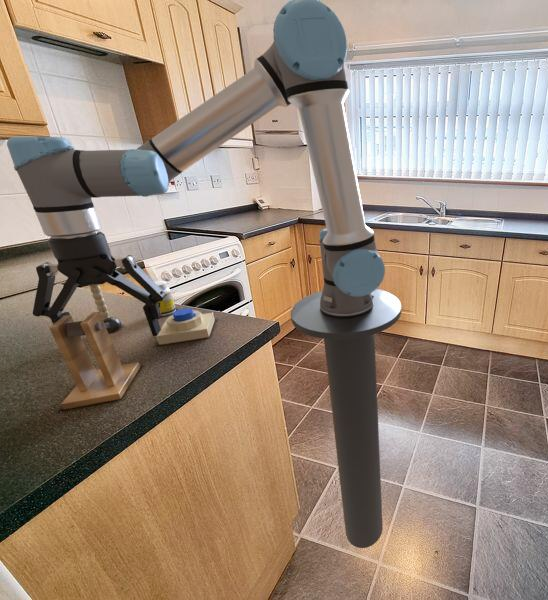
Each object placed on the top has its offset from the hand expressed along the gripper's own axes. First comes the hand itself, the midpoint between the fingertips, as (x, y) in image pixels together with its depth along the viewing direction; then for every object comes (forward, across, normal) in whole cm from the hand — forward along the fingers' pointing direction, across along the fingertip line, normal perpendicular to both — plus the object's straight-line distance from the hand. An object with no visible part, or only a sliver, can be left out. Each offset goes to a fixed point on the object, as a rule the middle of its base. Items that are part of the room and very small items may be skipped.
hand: (117, 338), depth 68 cm
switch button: (+1, -10, -8) cm, 13 cm away
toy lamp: (+5, +8, -16) cm, 19 cm away
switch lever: (-4, 0, +6) cm, 7 cm away
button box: (+5, -10, -8) cm, 14 cm away
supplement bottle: (+5, -2, -22) cm, 23 cm away
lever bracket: (+5, 0, +10) cm, 11 cm away
